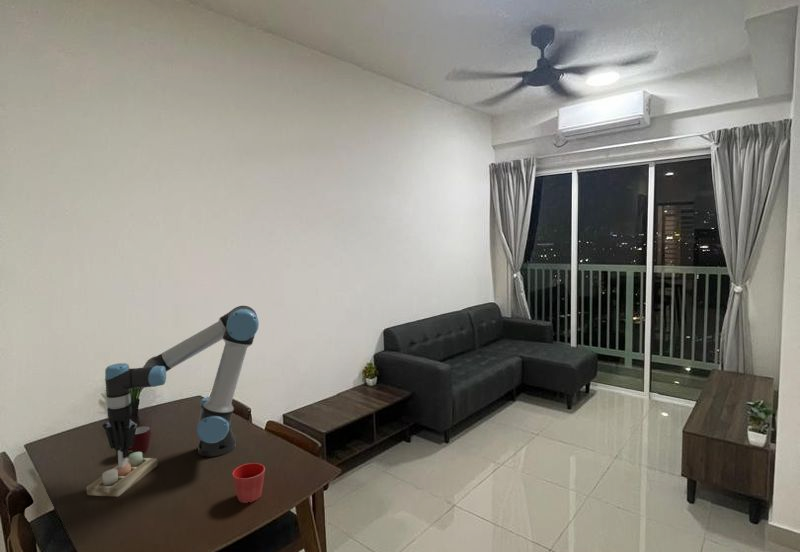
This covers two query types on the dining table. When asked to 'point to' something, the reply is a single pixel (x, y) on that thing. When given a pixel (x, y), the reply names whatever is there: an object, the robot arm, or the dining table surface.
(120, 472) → the button terracotta
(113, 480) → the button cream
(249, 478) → the flower pot
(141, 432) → the mug
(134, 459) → the button sage
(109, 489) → the button board
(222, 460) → the dining table surface
